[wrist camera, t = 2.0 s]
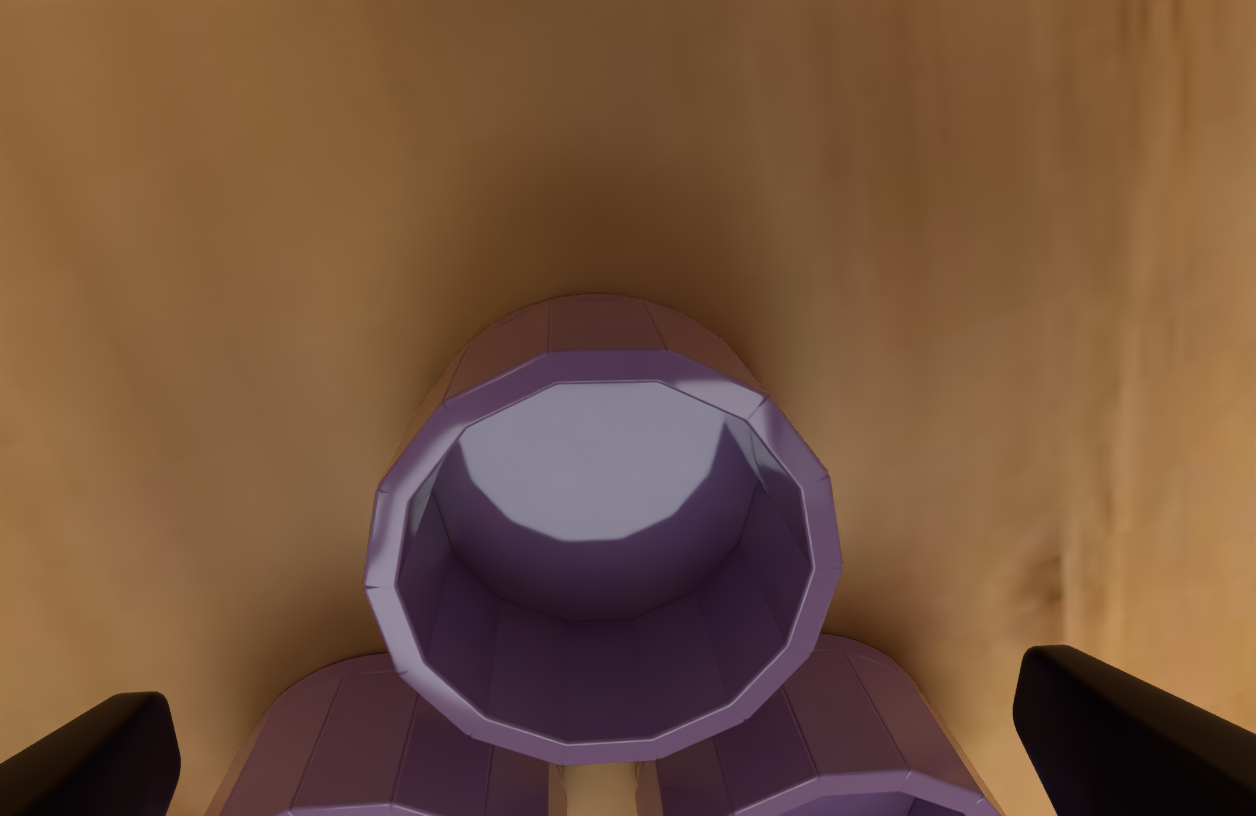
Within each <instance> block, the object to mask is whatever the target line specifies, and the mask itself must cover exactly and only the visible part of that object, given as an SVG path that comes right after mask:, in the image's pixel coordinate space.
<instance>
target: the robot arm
mask: <svg viewBox="0 0 1256 816" xmlns="http://www.w3.org/2000/svg"><path fill="white" fill-rule="evenodd" d="M1013 720H1014V725H1015V728H1016V731H1017V733H1018V735H1019V737H1020V739H1021V741H1022V744H1023V746H1024V748H1025V750H1026V752H1027V754H1028V756H1029V758H1030V760H1031V762H1032V764H1033V766H1034V768H1035V770H1036V772H1037V774H1038V776H1039V778H1040V780H1041V782H1042V784H1043V786H1044V789H1045V791H1046V793H1047V795H1048V797H1049V799H1050V801H1051V803H1052V805H1053V807H1054V809H1055V811H1056V813H1057V815H1058V816H1256V734H1254V733H1252V732H1250V731H1248V730H1246V729H1244V728H1242V727H1240V726H1238V725H1235V724H1233V723H1231V722H1229V721H1227V720H1225V719H1223V718H1221V717H1219V716H1216V715H1214V714H1212V713H1210V712H1208V711H1206V710H1204V709H1202V708H1200V707H1198V706H1195V705H1193V704H1191V703H1189V702H1187V701H1185V700H1183V699H1181V698H1179V697H1176V696H1174V695H1172V694H1170V693H1168V692H1166V691H1164V690H1162V689H1160V688H1157V687H1155V686H1153V685H1151V684H1149V683H1147V682H1145V681H1143V680H1141V679H1139V678H1136V677H1134V676H1132V675H1130V674H1128V673H1126V672H1124V671H1122V670H1120V669H1117V668H1115V667H1113V666H1111V665H1109V664H1107V663H1105V662H1103V661H1101V660H1098V659H1096V658H1094V657H1092V656H1090V655H1088V654H1086V653H1084V652H1082V651H1080V650H1077V649H1075V648H1073V647H1071V646H1067V645H1045V646H1033V647H1031V648H1029V649H1028V650H1027V651H1026V652H1025V654H1024V656H1023V659H1022V663H1021V668H1020V673H1019V678H1018V683H1017V688H1016V693H1015V698H1014V703H1013ZM180 768H181V757H180V751H179V747H178V743H177V738H176V734H175V730H174V725H173V721H172V717H171V712H170V708H169V704H168V702H167V699H166V698H165V696H164V695H163V694H161V693H159V692H155V691H151V692H132V693H120V694H116V695H114V696H112V697H110V698H108V699H107V700H105V701H103V702H102V703H100V704H98V705H97V706H95V707H93V708H92V709H90V710H89V711H87V712H85V713H84V714H82V715H80V716H79V717H77V718H75V719H74V720H72V721H70V722H69V723H67V724H65V725H64V726H62V727H60V728H59V729H57V730H56V731H54V732H52V733H51V734H49V735H47V736H46V737H44V738H42V739H41V740H39V741H37V742H36V743H34V744H32V745H31V746H29V747H27V748H26V749H24V750H22V751H21V752H19V753H18V754H16V755H14V756H13V757H11V758H9V759H8V760H6V761H4V762H3V763H1V764H0V816H166V813H167V810H168V808H169V805H170V802H171V800H172V797H173V794H174V791H175V789H176V786H177V783H178V780H179V775H180Z"/></svg>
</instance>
